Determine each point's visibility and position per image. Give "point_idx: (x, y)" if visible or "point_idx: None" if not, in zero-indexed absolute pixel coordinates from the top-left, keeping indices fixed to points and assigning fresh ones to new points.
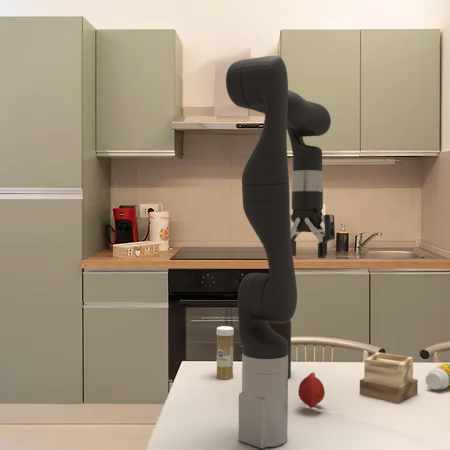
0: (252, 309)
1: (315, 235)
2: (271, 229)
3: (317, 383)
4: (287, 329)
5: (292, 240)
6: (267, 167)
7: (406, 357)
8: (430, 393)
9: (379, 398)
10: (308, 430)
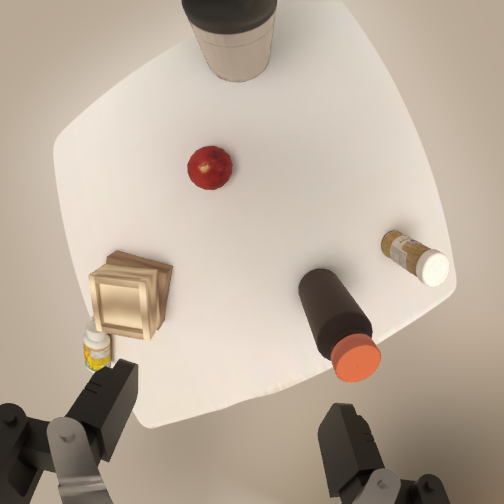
0: None
1: (100, 478)
2: None
3: (193, 159)
4: (317, 323)
5: (351, 485)
6: None
7: (102, 326)
8: None
9: (141, 258)
10: (186, 84)
